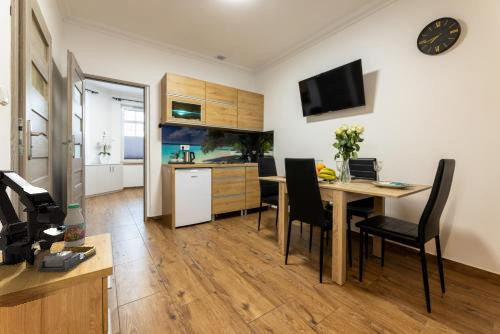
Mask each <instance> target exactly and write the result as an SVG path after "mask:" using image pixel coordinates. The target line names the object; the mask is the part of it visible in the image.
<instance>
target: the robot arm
mask: <svg viewBox="0 0 500 334" xmlns="http://www.w3.org/2000/svg"><path fill="white" fill-rule="evenodd" d="M7 188H10V189H11V190H12V191H13V192H14V193H16V194H17V195H18V196H19V202H20V203H21V204H22V205H23V206H24V207H25V208H24V209H22V212H23V213H26V221H22V220H20V217H19V216H18V214H17V211H16V209H15V207H14V205H13V203H12V201H11V198H10V197H9V195H8V192H7ZM65 218H66V213H65V212H64V211H63V210H61V209H60V206H57V204H56V201H55V200H54V199H53V197H52V196H51V194H50V193H49V191H47V190H45V189H44V188H41V187H36V186H33V185H32V184H30V183H29V182H28V181H27V180H25V179H24V178H23V177H22V176H20V175H19V174H17V172H16V171H15V170H13V169H3V170H2V169H0V224H1V229H0V251H1V255H2V256H1V258H2V259H1V260H2V261H1V262H0V266H7V265H9V266H10V265H16V264H17V265H18V264H19V263H21V262H23V261H25V262H26V261H27V262H28V264H29V265H34V253H35V251H36V250H39V249H52V246H53V245H54V244H55V243H56V242H57V241H60V240H62V238H63V237H64V236H65V234H66V233H65V232H66V229H65V227H64V225H61V226H59V227H54V228H53V227H52V225H60V224H61V223H63V222H64V221H65ZM36 244H38V247H39V249H38V247H35V245H36Z"/></svg>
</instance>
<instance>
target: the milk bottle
mask: <svg viewBox="0 0 500 334" xmlns="http://www.w3.org/2000/svg"><path fill="white" fill-rule="evenodd" d="M80 209H81V204H80V203H70V204H68V205H67V210H68V211H67V215H65V219H64V220H63V222H64V223H63V226H64V227H65V229H66V232H65V233H66V234H65V236H63V237H64V239H63V240H64V242H63V243H64V247H65V248H74V247H75V246H83V245H84V244H85V242H86V239H85V237H86V233H85V229H86V228H85V218H84V216H83V215H82V213H81V210H80Z"/></svg>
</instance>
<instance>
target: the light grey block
mask: <svg viewBox="0 0 500 334" xmlns="http://www.w3.org/2000/svg"><path fill="white" fill-rule="evenodd" d="M71 257H72V251H68V250H66V251H64V250H63V251H52V252H51V253H50V254H48V255H46V256H44V258H45V267H55V266H63V262H64V261H65V260H67V259H69V258H71Z"/></svg>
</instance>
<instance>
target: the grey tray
mask: <svg viewBox="0 0 500 334" xmlns="http://www.w3.org/2000/svg"><path fill="white" fill-rule="evenodd" d="M67 251H72V257H71V258H69V259H67V260H65V261H64V262H63V266H55V267H45V260H43V261H41V262H39V268H38V269H37V272H38V273H56V272H58V273H60V272H61V273H62V272H67V271H69V270H70V269H73V268H74V267H76V266H77V265H79V264H80V263H82V262H84V261H85V260H87V259H88V258H89V259H90V257H92V256H94V255H95V254H96V253H97V249H96V247H95V245H79V246H75V247H71V248H69V249H68V250H67Z"/></svg>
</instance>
